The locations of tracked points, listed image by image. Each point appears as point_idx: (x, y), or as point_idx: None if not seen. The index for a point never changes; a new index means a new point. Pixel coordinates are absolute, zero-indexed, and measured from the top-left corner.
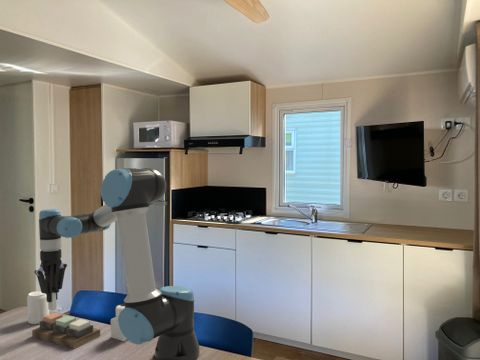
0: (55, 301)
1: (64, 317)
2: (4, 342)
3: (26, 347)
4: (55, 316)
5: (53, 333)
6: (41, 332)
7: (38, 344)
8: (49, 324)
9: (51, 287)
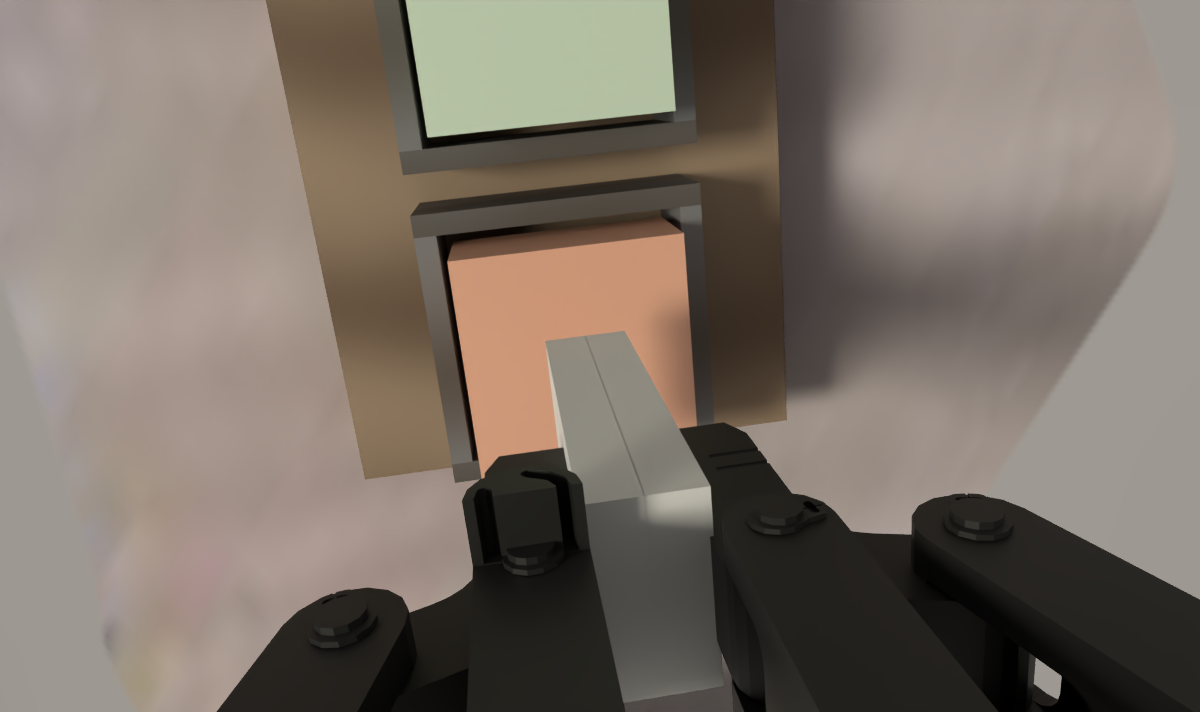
0: (576, 398)
1: (507, 90)
2: (988, 489)
3: (972, 160)
4: (572, 285)
5: (712, 57)
6: (774, 244)
7: (859, 113)
8: (701, 218)
9: (821, 637)
